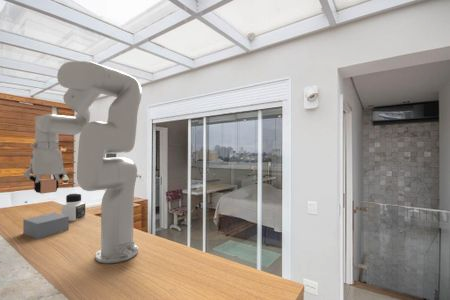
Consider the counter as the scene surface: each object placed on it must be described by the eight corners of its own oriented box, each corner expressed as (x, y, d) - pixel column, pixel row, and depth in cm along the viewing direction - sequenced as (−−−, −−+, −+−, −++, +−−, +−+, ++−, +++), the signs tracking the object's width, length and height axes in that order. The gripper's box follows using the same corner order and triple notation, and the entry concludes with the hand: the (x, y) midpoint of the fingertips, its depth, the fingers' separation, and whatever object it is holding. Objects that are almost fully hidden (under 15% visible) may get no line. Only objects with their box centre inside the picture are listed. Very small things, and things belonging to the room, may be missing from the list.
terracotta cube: (56, 191, 95) (56, 179, 95) (41, 193, 91) (41, 180, 91) (51, 190, 98) (51, 178, 98) (36, 192, 94) (36, 179, 93)
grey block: (68, 230, 97) (68, 216, 97) (37, 239, 87) (37, 223, 87) (54, 226, 102) (54, 212, 102) (23, 234, 92) (23, 219, 92)
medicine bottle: (76, 221, 108) (76, 195, 108) (61, 221, 108) (61, 195, 108) (85, 216, 115) (85, 192, 115) (71, 216, 115) (71, 192, 115)
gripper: (22, 146, 85) (22, 195, 85) (74, 147, 99) (73, 189, 99) (16, 146, 89) (16, 193, 89) (66, 146, 103) (66, 187, 103)
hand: (46, 190), depth 94 cm, fingers closed on terracotta cube, 4 cm apart
